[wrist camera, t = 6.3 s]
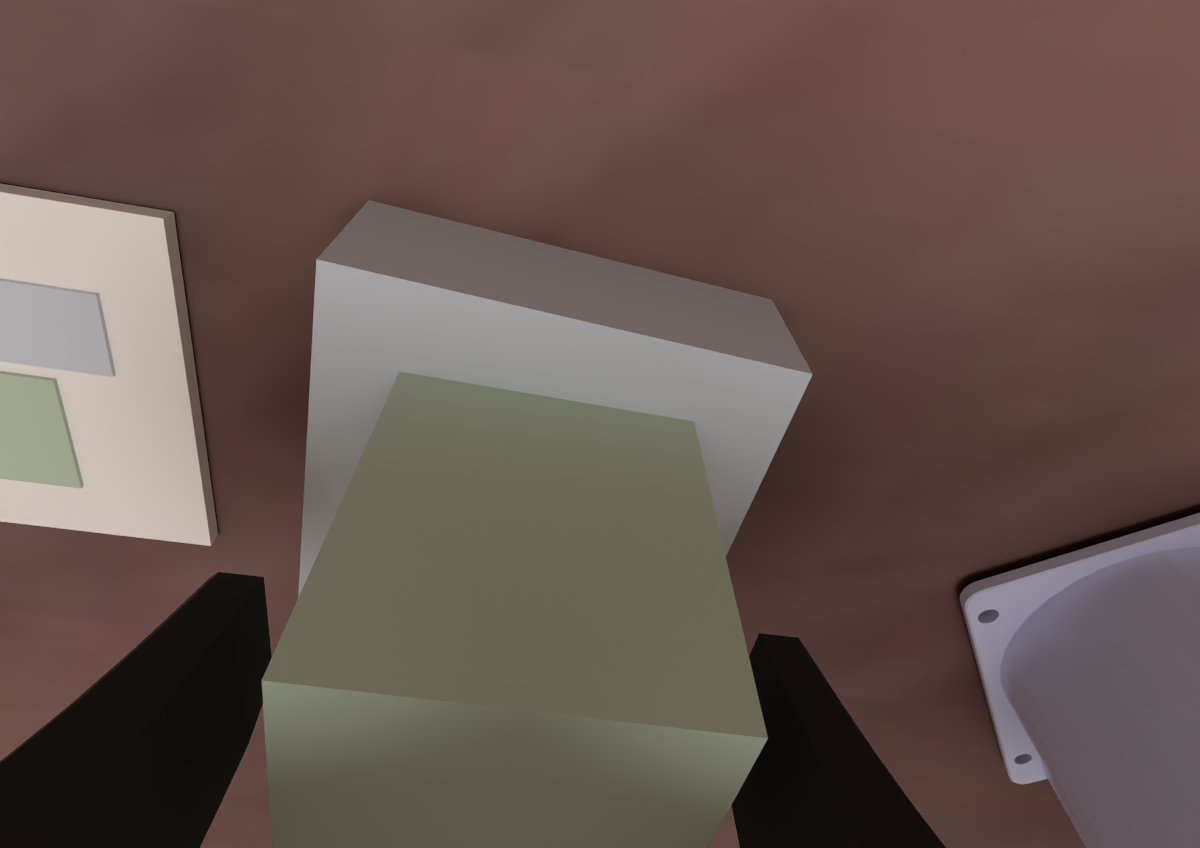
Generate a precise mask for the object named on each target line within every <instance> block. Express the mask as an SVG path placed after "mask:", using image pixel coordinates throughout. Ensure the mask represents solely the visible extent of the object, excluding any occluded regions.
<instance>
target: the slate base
mask: <svg viewBox="0 0 1200 848" xmlns="http://www.w3.org/2000/svg"><path fill="white" fill-rule="evenodd" d="M399 372H404V373H410V374H415V375H421V376H427V377H433V378H439V379H445V380H451V381H457V382H463V383H468V384H474V385H480V386H486V387H492V388H498V389H504V390H510V391H516V392H521V393H527V394H533V395H539V396H545V397H551V398H557V399H563V400H569V401H574V402H580V403H586V404H592V405H598V406H604V407H610V408H616V409H622V410H628V411H633V412H639V413H645V414H651V415H657V416H663V417H669V418H675V419H681V420H686V421H692V422H694V424H695V428H696V432H697V437H698V441H699V445H700V449H701V454H702V458H703V462H704V467H705V471H706V475H707V479H708V484H709V488H710V492H711V497H712V501H713V505H714V509H715V514H716V518H717V522H718V526H719V531H720V535H721V539H722V544H723V548H724V552H725V556H726V555H727V553H728V551H729V549H730V547H731V545H732V543H733V541H734V539H735V536H736V534H737V532H738V530H739V528H740V526H741V524H742V522H743V520H744V518H745V515H746V513H747V511H748V509H749V507H750V505H751V503H752V501H753V499H754V497H755V494H756V492H757V490H758V488H759V486H760V484H761V482H762V480H763V478H764V476H765V473H766V471H767V469H768V467H769V465H770V463H771V461H772V459H773V457H774V455H775V452H776V450H777V448H778V446H779V444H780V442H781V440H782V438H783V436H784V434H785V431H786V429H787V427H788V425H789V423H790V421H791V419H792V417H793V415H794V413H795V410H796V408H797V406H798V404H799V402H800V400H801V398H802V396H803V394H804V392H805V389H806V387H807V385H808V383H809V381H810V379H811V377H812V375H813V374H812V372H811V370H810V368H809V366H808V365H807V363H806V361H805V359H804V357H803V355H802V354H801V352H800V350H799V348H798V346H797V344H796V343H795V341H794V339H793V337H792V335H791V334H790V332H789V330H788V328H787V326H786V324H785V323H784V321H783V319H782V317H781V315H780V313H779V312H778V310H777V308H776V306H775V304H774V302H773V301H772V299H768V298H764V297H759V296H755V295H751V294H747V293H743V292H739V291H735V290H731V289H727V288H723V287H719V286H715V285H711V284H707V283H703V282H699V281H695V280H691V279H687V278H683V277H678V276H674V275H670V274H666V273H662V272H658V271H654V270H650V269H646V268H642V267H638V266H634V265H630V264H626V263H622V262H618V261H614V260H610V259H606V258H602V257H597V256H593V255H589V254H585V253H581V252H577V251H573V250H569V249H565V248H561V247H557V246H553V245H549V244H545V243H541V242H537V241H533V240H529V239H525V238H521V237H516V236H512V235H508V234H504V233H500V232H496V231H492V230H488V229H484V228H480V227H476V226H472V225H468V224H464V223H460V222H456V221H452V220H448V219H444V218H440V217H435V216H431V215H427V214H423V213H419V212H415V211H411V210H407V209H403V208H399V207H395V206H391V205H387V204H383V203H379V202H375V201H371V200H368V202H367V203H366V204H365V205H364V206H363V207H362V208H361V209H360V211H359V212H358V213H357V214H356V215H355V216H354V217H353V219H352V220H351V221H350V222H349V223H348V224H347V225H346V226H345V228H344V229H343V230H342V231H341V232H340V233H339V234H338V236H337V237H336V238H335V239H334V240H333V241H332V242H331V243H330V245H329V246H328V247H327V248H326V249H325V250H324V251H323V252H322V254H321V255H320V256H319V257H318V258H317V259H316V278H315V296H314V315H313V334H312V352H311V371H310V389H309V408H308V427H307V445H306V464H305V483H304V501H303V520H302V539H301V557H300V576H299V594H298V598H299V595H300V593H301V591H302V589H303V586H304V584H305V582H306V580H307V577H308V575H309V573H310V571H311V568H312V566H313V564H314V562H315V559H316V557H317V555H318V553H319V550H320V548H321V546H322V544H323V541H324V539H325V537H326V535H327V532H328V530H329V528H330V526H331V523H332V521H333V519H334V517H335V514H336V512H337V510H338V508H339V505H340V503H341V501H342V499H343V496H344V494H345V492H346V490H347V488H348V485H349V483H350V481H351V479H352V476H353V474H354V472H355V470H356V467H357V465H358V463H359V461H360V458H361V456H362V454H363V452H364V449H365V447H366V445H367V443H368V440H369V438H370V436H371V434H372V431H373V429H374V427H375V425H376V422H377V420H378V418H379V416H380V413H381V411H382V409H383V407H384V404H385V402H386V400H387V398H388V395H389V393H390V391H391V389H392V386H393V384H394V382H395V380H396V377H397V375H398V373H399Z"/></svg>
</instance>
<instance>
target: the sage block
mask: <svg viewBox="0 0 1200 848" xmlns="http://www.w3.org/2000/svg"><path fill="white" fill-rule="evenodd" d="M262 695H263V710H264V726H265V741H266V757H267V772H268V788H269V803H270V819H271V834H272V848H708V847H709V845H710V843H711V841H712V839H713V838H714V836H715V834H716V832H717V830H718V828H719V827H720V825H721V823H722V821H723V819H724V818H725V816H726V814H727V812H728V810H729V808H730V807H731V805H732V803H733V801H734V799H735V798H736V796H737V794H738V792H739V790H740V788H741V787H742V785H743V783H744V781H745V779H746V778H747V776H748V774H749V772H750V770H751V768H752V767H753V765H754V763H755V761H756V759H757V758H758V756H759V754H760V752H761V750H762V748H763V747H764V745H765V743H766V741H767V739H768V736H767V732H766V728H765V723H764V719H763V715H762V711H761V706H760V702H759V698H758V693H757V689H756V685H755V681H754V676H753V672H752V668H751V663H750V659H749V655H748V651H747V646H746V642H745V638H744V633H743V629H742V625H741V621H740V616H739V612H738V608H737V604H736V599H735V595H734V591H733V586H732V582H731V578H730V574H729V569H728V565H727V561H726V556H725V552H724V548H723V544H722V539H721V535H720V531H719V526H718V522H717V518H716V514H715V509H714V505H713V501H712V497H711V492H710V488H709V484H708V479H707V475H706V471H705V467H704V462H703V458H702V454H701V449H700V445H699V441H698V437H697V432H696V428H695V424H694V422H692V421H686V420H681V419H675V418H669V417H663V416H657V415H651V414H645V413H639V412H633V411H628V410H622V409H616V408H610V407H604V406H598V405H592V404H586V403H580V402H574V401H569V400H563V399H557V398H551V397H545V396H539V395H533V394H527V393H521V392H516V391H510V390H504V389H498V388H492V387H486V386H480V385H474V384H468V383H463V382H457V381H451V380H445V379H439V378H433V377H427V376H421V375H415V374H410V373H404V372H399V373H398V375H397V377H396V380H395V382H394V384H393V386H392V389H391V391H390V393H389V395H388V398H387V400H386V402H385V404H384V407H383V409H382V411H381V413H380V416H379V418H378V420H377V422H376V425H375V427H374V429H373V431H372V434H371V436H370V438H369V440H368V443H367V445H366V447H365V449H364V452H363V454H362V456H361V458H360V461H359V463H358V465H357V467H356V470H355V472H354V474H353V476H352V479H351V481H350V483H349V485H348V488H347V490H346V492H345V494H344V496H343V499H342V501H341V503H340V505H339V508H338V510H337V512H336V514H335V517H334V519H333V521H332V523H331V526H330V528H329V530H328V532H327V535H326V537H325V539H324V541H323V544H322V546H321V548H320V550H319V553H318V555H317V557H316V559H315V562H314V564H313V566H312V568H311V571H310V573H309V575H308V577H307V580H306V582H305V584H304V586H303V589H302V591H301V593H300V595H299V598H298V600H297V602H296V604H295V607H294V609H293V611H292V613H291V616H290V618H289V620H288V622H287V625H286V627H285V629H284V631H283V634H282V636H281V638H280V640H279V642H278V645H277V647H276V649H275V651H274V654H273V656H272V658H271V660H270V663H269V665H268V667H267V669H266V672H265V674H264V676H263V678H262Z"/></svg>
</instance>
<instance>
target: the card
mask: <svg viewBox="0 0 1200 848" xmlns="http://www.w3.org/2000/svg"><path fill="white" fill-rule="evenodd" d="M0 521H2V522H11V523H19V524H28V525H36V526H45V527H54V528H62V529H71V530H79V531H88V532H96V533H105V534H113V535H122V536H130V537H139V538H148V539H156V540H165V541H173V542H182V543H190V544H199V545H207V546H211V545H212V544H213V542H214V541H215V539H216V537H217V536H218V530H217V522H216V515H215V508H214V501H213V493H212V486H211V479H210V471H209V464H208V457H207V450H206V442H205V435H204V428H203V421H202V413H201V406H200V399H199V391H198V384H197V377H196V370H195V362H194V355H193V348H192V341H191V333H190V326H189V319H188V311H187V304H186V297H185V290H184V282H183V275H182V268H181V261H180V253H179V246H178V239H177V231H176V224H175V217H174V212H171V211H165V210H159V209H153V208H147V207H141V206H135V205H128V204H122V203H116V202H110V201H104V200H98V199H92V198H86V197H80V196H74V195H68V194H62V193H55V192H49V191H43V190H37V189H31V188H25V187H19V186H13V185H7V184H1V183H0Z"/></svg>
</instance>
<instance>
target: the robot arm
mask: <svg viewBox="0 0 1200 848" xmlns="http://www.w3.org/2000/svg"><path fill="white" fill-rule="evenodd" d="M960 603H961V607H962V610H963V614H964V618H965V622H966V625H967V629H968V633H969V636H970V640H971V644H972V647H973V651H974V655H975V659H976V662H977V666H978V670H979V673H980V677H981V681H982V684H983V688H984V692H985V696H986V699H987V703H988V707H989V710H990V714H991V718H992V721H993V725H994V729H995V733H996V736H997V740H998V744H999V747H1000V751H1001V755H1002V758H1003V762H1004V766H1005V770H1006V772H1007V773H1008V775H1009V777H1010V779H1011V780H1012V781H1013V782H1015V783H1018V784H1028V783H1032V782H1036V781H1041V780H1045V779H1048V780H1049V782H1050V784H1051V786H1052V788H1053V789H1054V791H1055V793H1056V795H1057V797H1058V798H1059V800H1060V802H1061V804H1062V805H1063V807H1064V809H1065V811H1066V813H1067V814H1068V816H1069V818H1070V820H1071V822H1072V823H1073V825H1074V827H1075V829H1076V831H1077V832H1078V834H1079V836H1080V838H1081V840H1082V841H1083V843H1084V845H1085V847H1086V848H1200V513H1197V514H1194V515H1190V516H1187V517H1184V518H1181V519H1177V520H1174V521H1171V522H1168V523H1164V524H1161V525H1158V526H1155V527H1151V528H1148V529H1145V530H1142V531H1138V532H1135V533H1132V534H1129V535H1125V536H1122V537H1119V538H1115V539H1112V540H1109V541H1106V542H1102V543H1099V544H1096V545H1093V546H1089V547H1086V548H1083V549H1080V550H1076V551H1073V552H1070V553H1067V554H1063V555H1060V556H1057V557H1054V558H1050V559H1047V560H1044V561H1041V562H1037V563H1034V564H1031V565H1028V566H1024V567H1021V568H1018V569H1015V570H1011V571H1008V572H1005V573H1002V574H998V575H995V576H992V577H989V578H985V579H982V580H979V581H976V582H973V583H971V584H969V585H968V586H966V587H965V588H964V589H963V591H962V592H961V594H960ZM749 659H750V663H751V668H752V672H753V676H754V681H755V685H756V689H757V693H758V698H759V702H760V706H761V711H762V715H763V719H764V723H765V728H766V732H767V736H768V739H767V741H766V743H765V745H764V747H763V748H762V750H761V752H760V754H759V756H758V758H757V759H756V761H755V763H754V765H753V767H752V768H751V770H750V772H749V774H748V776H747V778H746V779H745V781H744V783H743V785H742V787H741V788H740V790H739V792H738V794H737V796H736V798H735V799H734V801H733V803H732V809H733V814H734V819H735V824H736V829H737V834H738V840H739V845H740V848H946V847H945V846H944V845H943V844H942V842H941V841H940V840H939V838H938V837H937V836H936V834H935V833H934V832H933V831H932V829H931V828H930V827H929V825H928V824H927V823H926V822H925V820H924V819H923V818H922V816H921V815H920V814H919V812H918V811H917V810H916V808H915V807H914V806H913V804H912V803H911V802H910V800H909V799H908V798H907V796H906V795H905V794H904V792H903V791H902V789H901V788H900V787H899V785H898V784H897V782H896V781H895V780H894V778H893V777H892V775H891V774H890V773H889V771H888V770H887V768H886V767H885V766H884V764H883V763H882V761H881V760H880V759H879V757H878V756H877V754H876V753H875V751H874V750H873V749H872V747H871V746H870V744H869V743H868V741H867V740H866V739H865V737H864V736H863V734H862V733H861V731H860V730H859V728H858V727H857V725H856V724H855V722H854V721H853V719H852V718H851V716H850V715H849V713H848V712H847V710H846V709H845V708H844V706H843V705H842V703H841V702H840V700H839V699H838V697H837V695H836V694H835V692H834V691H833V689H832V688H831V686H830V685H829V683H828V682H827V680H826V679H825V677H824V676H823V674H822V673H821V671H820V670H819V668H818V667H817V665H816V664H815V662H814V661H813V659H812V658H811V656H810V655H809V653H808V652H807V650H806V649H805V647H804V646H803V644H802V643H801V641H800V640H799V638H795V637H786V636H778V635H769V634H760V633H759V635H758V638H757V640H756V642H755V645H754V647H753V649H752V651H751V654H750V656H749ZM270 660H271V648H270V637H269V627H268V617H267V606H266V596H265V586H264V577H257V576H248V575H240V574H231V573H222V572H218V573H216V574H215V575H213V576H212V577H210V578H209V579H208V580H207V581H206V582H205V583H204V584H203V585H202V586H201V587H200V588H199V589H198V590H197V591H196V592H195V593H194V594H192V595H191V596H190V597H189V598H188V599H187V600H186V601H185V602H184V603H183V604H182V605H181V606H180V607H179V608H178V609H177V610H176V611H175V612H173V613H172V614H171V615H170V616H169V617H168V618H167V619H166V620H165V621H164V622H163V623H162V624H161V625H160V626H158V627H157V628H156V629H155V630H154V631H153V632H152V633H151V634H150V635H149V636H148V637H146V638H145V639H144V640H143V641H142V642H141V643H140V644H139V645H138V646H137V647H136V648H134V649H133V650H132V651H131V652H130V653H129V654H128V655H127V656H126V657H124V658H123V659H122V660H121V661H120V662H119V663H118V664H116V665H115V666H114V667H113V668H112V669H111V670H110V671H108V672H107V673H106V674H105V675H104V676H103V677H102V678H100V679H99V680H98V681H97V682H96V683H95V684H94V685H92V686H91V687H90V688H89V689H88V690H87V691H86V692H84V693H83V694H82V695H81V696H80V697H79V698H78V699H76V700H75V701H74V702H73V703H72V704H71V705H69V706H68V707H67V708H66V709H65V710H63V711H62V712H61V713H60V714H59V715H57V716H56V717H55V718H54V719H52V720H51V721H50V722H49V723H47V724H46V725H45V726H44V727H42V728H41V729H40V730H39V731H38V732H36V733H35V734H34V735H33V736H31V737H30V738H29V739H28V740H26V741H25V742H24V743H23V744H22V745H20V746H19V747H18V748H17V749H15V750H14V751H13V752H12V753H10V754H9V755H8V756H7V757H5V758H4V759H3V760H2V761H1V762H0V848H200V846H201V844H202V841H203V839H204V837H205V835H206V833H207V831H208V829H209V827H210V825H211V823H212V820H213V818H214V816H215V814H216V812H217V810H218V808H219V806H220V804H221V802H222V799H223V797H224V795H225V793H226V791H227V789H228V787H229V785H230V782H231V780H232V778H233V776H234V774H235V772H236V770H237V767H238V765H239V763H240V761H241V759H242V757H243V755H244V752H245V750H246V748H247V746H248V744H249V741H250V738H251V735H252V732H253V729H254V727H255V724H256V721H257V718H258V715H259V713H260V710H261V707H262V704H263V695H262V678H263V676H264V674H265V672H266V669H267V667H268V665H269V663H270Z"/></svg>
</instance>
